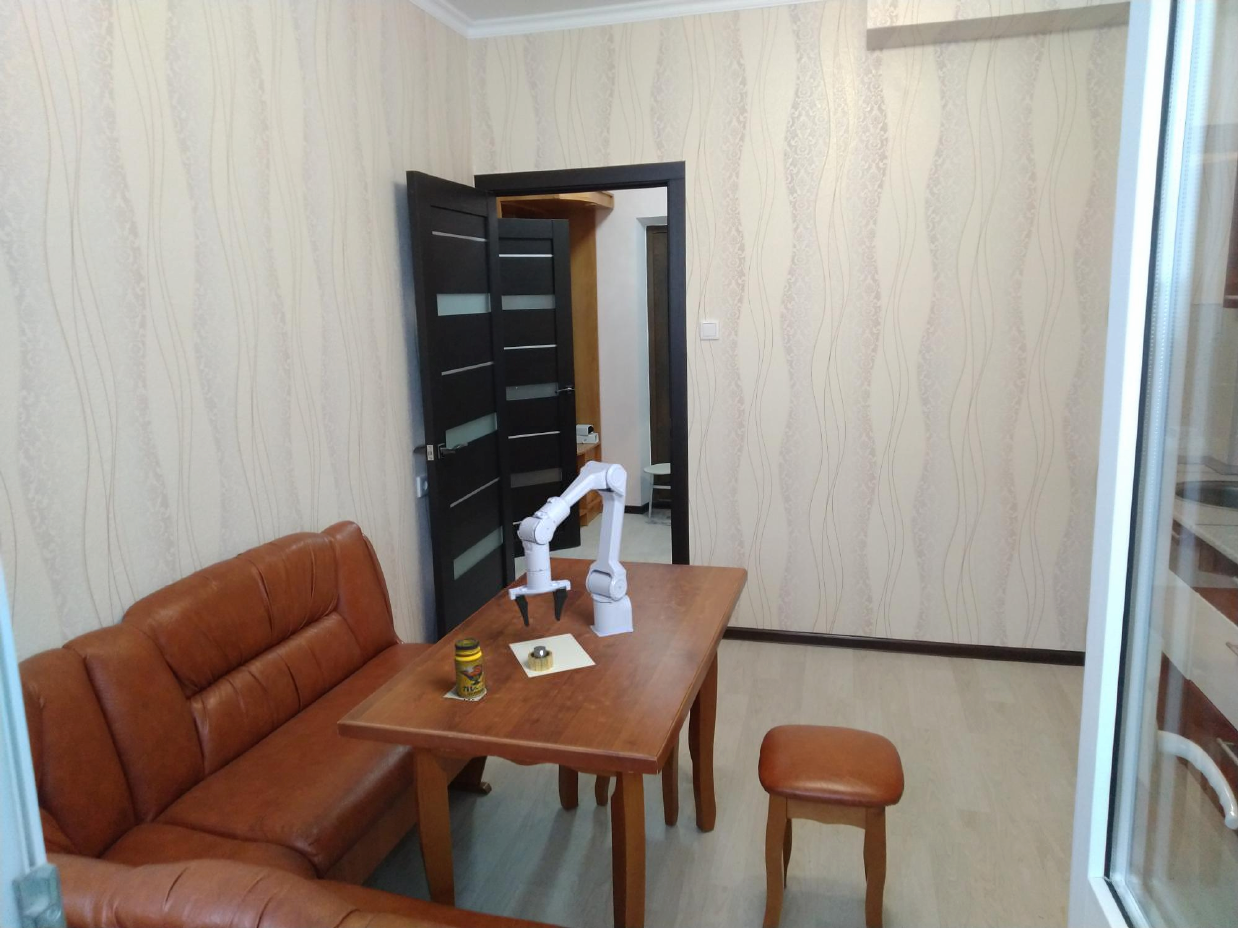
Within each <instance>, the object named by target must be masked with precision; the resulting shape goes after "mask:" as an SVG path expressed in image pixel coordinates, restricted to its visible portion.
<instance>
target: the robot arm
mask: <svg viewBox="0 0 1238 928" xmlns="http://www.w3.org/2000/svg"><path fill="white" fill-rule="evenodd" d="M627 476H628V473H627V472H626V470H625V468H624V467H623V466H622V465H621V464H619V463H611V462H610V463H608V462H601V461H596V460H590V461H588V462H586V463H585V465H584V466H582V467H581V468H580V470H579V475H578V476H577V477H576V478H575V480H573V482H572V483H570V484H569V486H568V487H567V488H566V490H564V492H563V493H562V494H561V495H560V496H559V497H558V496H552V497H549V498H548V499H547V501H546V503H545V504H544V505H543V506H542V507H541V508H540V509H538V510H537V511H536V512H534V515H532V516H529V517H526V518H524V519H523V520H522V521H521V522H520V524H519V528H518V530H517V535H518V538H519V539H520V540H521V541H522V547H523V549H524V559H525V573H526V584H525V585H524V584H523V585H521V586H517V587H514V588H510V589H508V597H509V599H510V600H512V601H514V602H515V604H516V606H517V607H518V609H519V611H520V614H521V616H522V621H523V625H524V626H525V627H526V628H528V627H530V620H529V613H528V612H529V611H528V610H529V609H528V607H529V605H528V604H529V603H528V601H527V598H526V597H529V596H530V597H531V596H535V595H540V594H541V595H542V594H546V593H552V597H553V604H554V605H553V606H554V619H555V620H556V621H557V622H560V621H561V616H562V610H563V608H564V604H565V602H566V600H567V598H568V592H567V591H569V590H571V582H570V580H568V579H563V580H552V570H551V559H550V558H551V557H550V543H549V542H551V541H552V539H553V537H554V533H555V531H557V530H556V529H557V527H559V525H560V524H561V523H562V522H563V521H564V520H565V519H566V518H567V517H569V515H570V513H571V507H572V506H573V505H574V504H576V503H577V502H578V501H579V500H581V498H582V497H583V496H585V495H586V494H587V493H588V492H590V491H591V490H594V491H597V492H598V494H599V495H600V496H601V497H602V498H603V506H602V515H601V523H600V524H601V526H600V533H599V534H600V535H599V541H598V542H599V543H598V553H597V559H596V560H595V561H593V563H591V564H590V565H589V572H588V574H587V576H586V580H585V587H586V590H587V592H589V594H590V598H592V601H593V602H592V603H593V605H592V606H593V619H594V622H593V623H594V624H593V625H589V628H590V629H591V630H592V632H594V633H595V634H596V636H598V637H606V636H607V637H608V636H612V635H618V634H622V633H623V634H624V633H633V632H634V631H635V630H634V628H633V611H632V610H633V608H632V603H631V599H630V597H629V595H627V594H626V592H627V589H628V582H627V570H626V569H625V567H624V566H623V565H622V564H621V563H620V551H621V542H622V541H621V540H622V535H623V534H622V533H623V524H624V516H625V504H626V497H627V495H626V494H627V492H626V491H627V490H626V489H627V488H626V487H627V486H626V485H627Z"/></svg>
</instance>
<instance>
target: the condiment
mask: <svg viewBox="0 0 1238 928" xmlns="http://www.w3.org/2000/svg"><path fill="white" fill-rule="evenodd" d="M454 647H455V650H454V653H455V654H454V657H453V658H454V670H455V681H456V684H455V685H454V687H453V688H452V689H450V691H448V692H447V693H446V694H445V695H444V696H443V698H446V699H447V698H448V699H456V700H463V701H474V702H478V701H479V700H480V699H481V698H482V697H484V696H485V694H486V693H487V692H488V689H487V686H486V684H485V673H484V665H483V663H484V659H483V653H482V651H481V648H480V647H481V646H480V642H479V640H478V639H477V638H475V637H474V638H473V637H466V638H461V639H459V640H457V641H456V642H455V643H454ZM459 697H460V698H459ZM464 699H465V700H464ZM468 699H470V700H468ZM472 699H474V700H472Z"/></svg>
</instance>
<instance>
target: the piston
mask: <svg viewBox="0 0 1238 928" xmlns="http://www.w3.org/2000/svg"><path fill="white" fill-rule="evenodd" d="M544 657H546V647H545V646H537V647H535V648H534V658H544Z"/></svg>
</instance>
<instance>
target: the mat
mask: <svg viewBox="0 0 1238 928" xmlns="http://www.w3.org/2000/svg"><path fill="white" fill-rule="evenodd" d="M508 645H509V647H510V649H511V651H512V652H513V654H514V655H515V657H516V659H517V660H518V662H519V663H520V665H521V667H522V668H523V670H524V671H525V673H526V675H527V677H528V678H532V677H538V676H544V675H547V674H549V675H550V674H553V673H557V672H559V673H560V672H563V671H568V670H575V669H579V668H586V667H589V666H594V665H596V663H595V662H594V661H593V659H592V658H591V657H590V655H589V654H588V653H587V652H586V651H585V650H584V649H583V647H582V645H580V644H579V642H578V641H577V640H576V639H575V637H574V636H573V635H572V634H571V633H565V634H558V635H552V636H548V637H544V638H543V637H542V638H538V639H537V638H536V639H532V640H527V641H526V640H525V641H520V642H515V643H510V644H508ZM537 646H545V647H546V650H550V651H551V652H552V653H553V667H552V668H551V669H549V670H546V671H532V670H530V669H529V665H528V654H529V653H530V652H532V651H534V648H535V647H537Z"/></svg>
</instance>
